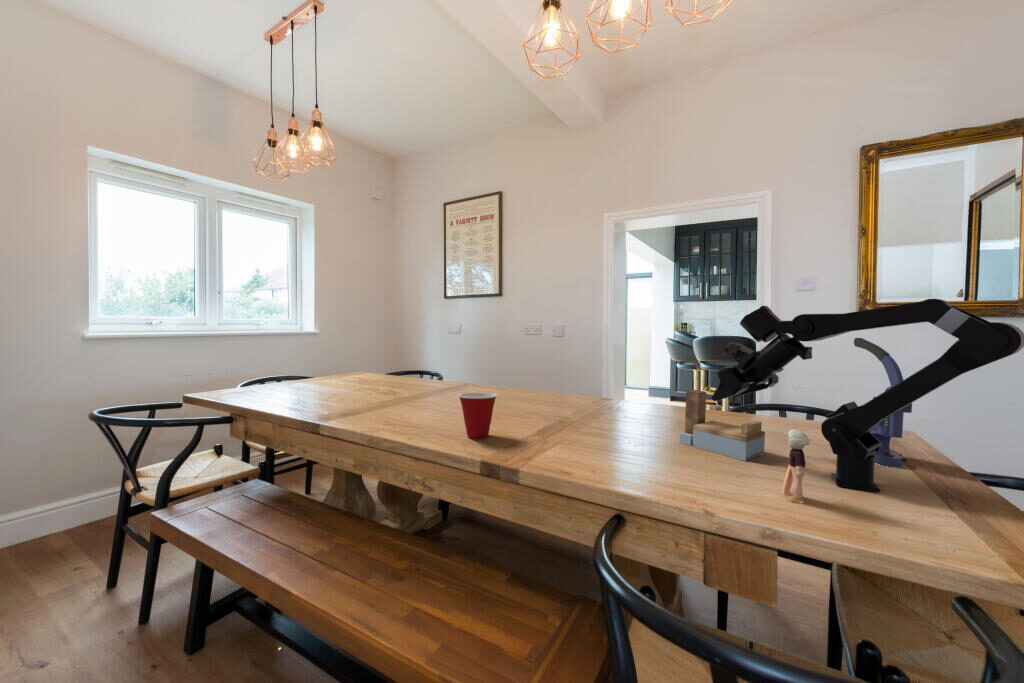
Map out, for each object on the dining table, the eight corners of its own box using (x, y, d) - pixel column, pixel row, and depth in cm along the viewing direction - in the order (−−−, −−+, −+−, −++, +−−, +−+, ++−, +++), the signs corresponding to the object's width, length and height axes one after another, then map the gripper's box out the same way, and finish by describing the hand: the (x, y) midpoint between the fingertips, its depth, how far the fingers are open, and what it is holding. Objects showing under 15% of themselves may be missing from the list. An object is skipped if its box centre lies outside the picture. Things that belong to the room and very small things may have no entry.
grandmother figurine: (776, 489, 77) (779, 423, 76) (800, 492, 75) (803, 425, 75) (787, 506, 70) (790, 434, 69) (814, 510, 68) (817, 437, 68)
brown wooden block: (704, 442, 107) (706, 391, 106) (696, 444, 105) (698, 392, 104) (692, 438, 110) (693, 389, 109) (684, 440, 108) (686, 390, 107)
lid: (764, 435, 97) (765, 421, 97) (745, 441, 92) (746, 426, 92) (712, 424, 108) (712, 411, 108) (693, 429, 103) (693, 415, 103)
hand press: (923, 472, 86) (930, 341, 85) (873, 468, 88) (880, 340, 87) (871, 445, 104) (876, 337, 103) (831, 442, 106) (836, 337, 105)
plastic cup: (497, 430, 117) (497, 389, 116) (496, 441, 106) (496, 397, 106) (460, 430, 117) (460, 389, 116) (455, 442, 106) (455, 397, 106)
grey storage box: (764, 454, 97) (764, 436, 97) (745, 461, 92) (745, 442, 92) (698, 437, 111) (699, 421, 111) (679, 442, 106) (679, 426, 106)
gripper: (766, 331, 100) (721, 370, 110) (726, 332, 90) (680, 375, 100) (801, 365, 94) (750, 403, 104) (763, 370, 84) (710, 412, 94)
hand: (723, 397), depth 101 cm, fingers open, 9 cm apart
